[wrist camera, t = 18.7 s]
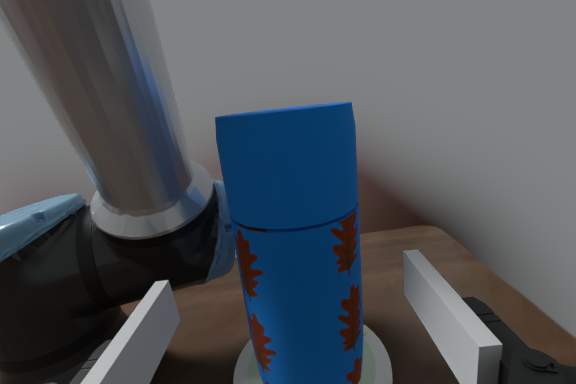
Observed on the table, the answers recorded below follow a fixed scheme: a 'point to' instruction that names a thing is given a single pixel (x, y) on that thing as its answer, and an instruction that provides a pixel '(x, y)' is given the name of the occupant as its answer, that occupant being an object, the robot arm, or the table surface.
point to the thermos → (297, 238)
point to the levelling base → (374, 366)
